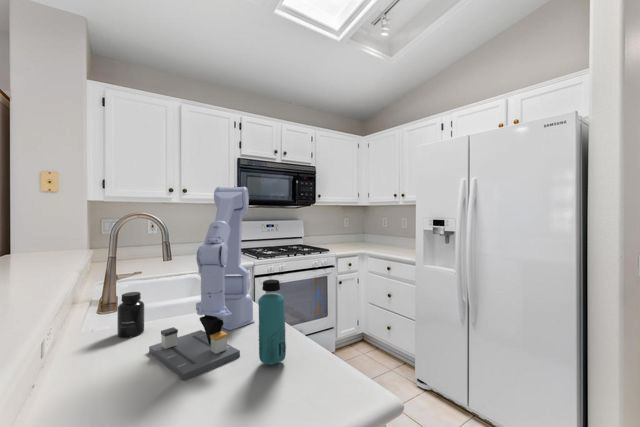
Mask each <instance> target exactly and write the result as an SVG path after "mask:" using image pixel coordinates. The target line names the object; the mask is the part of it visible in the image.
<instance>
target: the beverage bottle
mask: <svg viewBox="0 0 640 427" xmlns="http://www.w3.org/2000/svg"><path fill="white" fill-rule="evenodd" d="M280 284H281V282H280V279H266V280H264V281H263V282H262V288H261V289H262V291H263V292H267V293H263V294H262V295H261V296H260V297H259V298H258V300H257V302H258V357H259V361H260V363H263V364H266V365H276V364H280V363H282V362H283V361H284V360H285V358H286V355H287V353H286V352H287V346H286V331H287V329H286V310H285V308H286V307H285V306H286V304H285V301H286V300H285V297H284V296H283V295H282V294H281V293H278V291H279V290H281V286H280Z"/></svg>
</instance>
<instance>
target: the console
mask: <svg viewBox="0 0 640 427" xmlns="http://www.w3.org/2000/svg"><path fill="white" fill-rule="evenodd" d="M148 348H149V350H148V351H149V352H148V353H149V354H151V355H152V357H154V358H156V360H158V361H159V362H160V363H162V364H163V365H164V366H165V367H166V368H168V369H169V370H170V371H172V372H173V373H174V374H175V375H176V376H178V377H179V378H180V379H182V381H185V382H186V381H188V380H189V379H191V378H194V377H196V376H199V375H201V374H204V373H206V372H208V371H210V370H213V369H215V368H217V367H220V366H222V365H223V364H226V363H229V362H231V361H233V360H235V359H238V358H239V357H240V356H241V354H240V353H241V350H239V349H238V348H236V347H233V346H232V345H230V344H228V343H227V350H225V351H222V352H220V353H217V354H215V353H214V352H212V351H211V345H209V343H208V339H207V335H206V332H205V330H204V331H203V330H201V329H200V330H196V331H193V332H190V333H187V334H184V335H180V336H177V345H176V346H173V347H170V348H167V349H165V348H163V347H162V342H159V343H155V344H152V345H150V346H148ZM240 358H241V357H240Z"/></svg>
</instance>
